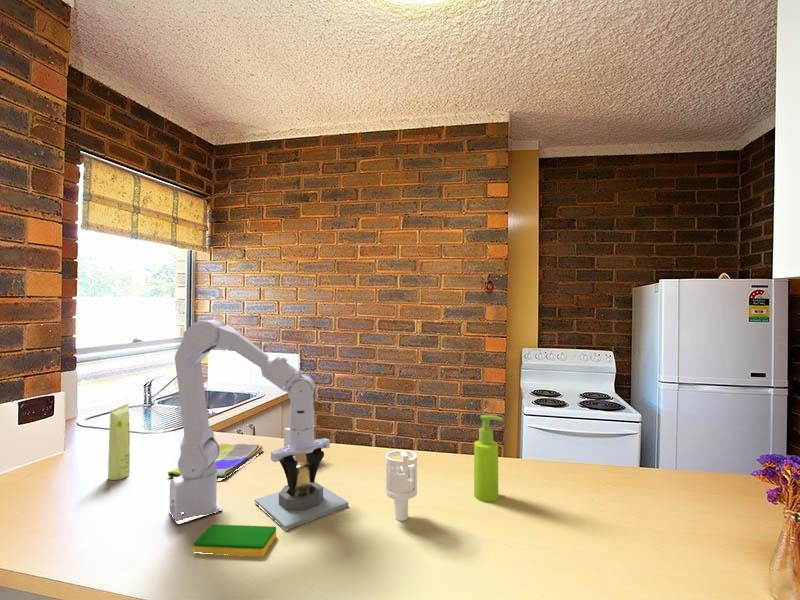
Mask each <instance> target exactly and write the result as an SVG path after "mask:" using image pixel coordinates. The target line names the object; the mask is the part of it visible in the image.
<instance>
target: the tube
mask: <svg viewBox="0 0 800 600" xmlns="http://www.w3.org/2000/svg"><path fill="white" fill-rule="evenodd" d="M129 408H130V406H129V403H128V402H127V403H126V404H123V405H121V406H118V407H116V408H113V409H111V410H110V415H109V438H108V462H107V464H108V466H107V467H108V468H107V469H108V470H107V479H108V480H111V481H118V480H121V479H125V478H126V477H127V478H128V476H130V471H131V470H130V466H131V462H130V461H131V459H130V457H131V455H130V453H131V452H130V451H131V450H130V449H131V448H130V446H131V445H130V443H131V441H130V438H131V435H130V434H131V433H130V409H129Z"/></svg>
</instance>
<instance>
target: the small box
mask: <svg viewBox="0 0 800 600" xmlns="http://www.w3.org/2000/svg"><path fill="white" fill-rule="evenodd" d="M316 429H317V426H316V425H314V440H317V439H316V435H317V434H316V432H317V430H316ZM283 432H284V433H283V447H285V446H287V445H289V427H285V428H284V429H283ZM293 458H294V460H295V461H297V462H307V458H306V453H303V454H300V455H296V456H293Z"/></svg>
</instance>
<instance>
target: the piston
mask: <svg viewBox="0 0 800 600" xmlns="http://www.w3.org/2000/svg"><path fill="white" fill-rule="evenodd" d="M307 495H310V463H308V462H298V463H297V467H296V474H295V489H291V496H295V497H304V496H307Z"/></svg>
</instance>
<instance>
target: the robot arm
mask: <svg viewBox="0 0 800 600" xmlns="http://www.w3.org/2000/svg"><path fill="white" fill-rule="evenodd" d="M182 335H183V336H182V337H183V338H182V340H181V342H180V344H179V345H178V349H177V351H176V353H175V355H174V363H175V371H176V379H177V385H178V387H177V388H178V394H179V403H180V410H181V418H182V424H183V425H182V427H183V433H184V434H183V437H182V440H181V443H180V456H179V458H178V461H177V468H178V469H179V471H180V473H181V474H182V475H180V476H179V477H177V478H171V480H170V482H169V510H170V512H171V514H172V515H173V517H174V519H175V520H176V521H179V520H183V519H185V518H189V517H193V516H199V515H207V514H211V513H214V512H217V511H220V510H222V509H223V507H221V505H220V504H219V503H218V501H217V483H218V482H217V467H216V464H215V459H216V458H217V457H218V455H219V452H220V447H219V444H220V443H219V442H218V441H217V439H216V438H215V434H214V431H213V429H212V428H211V427H210V422H209V415H208V406H207V400H206V392H205V391H206V389H205V382H204V376H203V374H204V373H203V368H202V361H203V360H204V358H206V356H207V355H208V354H209V353H210V352H211V350H213V349H215V348H216V349H222V350H223V349H225V350H232V351H234V352H235V353H237V354H238V355H240V356H242V357H243V358H244V359H246V360H248V361H249V362H251V363H252V364H254V365H256V366H257V367H259V369H260V370H261V376H262V377H264V379H266V380H267V381H269V382H270V383H271V384H273V385H274V386H276V387H277V388H279V390H282V391H283V392H287V396H288V399H289V400H290V402H289V403H290V406H289V407H290V408H289V427H288V428H289V445H287V446H285V447H284V446H283V447H281V448H278V449H276V450H272V451H271V452H270V460H271V461H272V462H274V463H277V462H279V464H280V465H281V467H282V469H283V472H284V474H285V477H286V481H287V485H288V487H289V488H291V489H295V474H296V467H297V463H298V462H297V461H295V460H294V458H293V456H296V455H300V454H303V453H306V458H307V462H308V463H310V482H311V483H313V482H314V481H315V480H316V476H317V472H318V469H319V466H320V465H321V462H322V460H323V459H324V457H325V452H324V451H323V450H322V449H330V448H331V440H330V439H329V438H326V437H325V438H318V439H316V440H314V426H315V406H314V403H315V401H314V394H315V390H316V389H315V388H316V386H315V380H313V378H312V377H311V376H310V375H309V374H307V373H304V371H303V370H302V369H299V370H298V369H296V368H295V367H294V366H292V365H291V364H290V363H288V359H287V358H286V357H284V356H283V357H282V358H281V357H280V356H278V355H276V356H270V355H268V354H267V353H265V352H264V351H263V350H262V349H261V348H259V347H258V346H257V345H256V344H254V343H253V342H251V341H250V340H249V339H248V338H247V337H245V336H244V335H243V334H241V333H240V332H239V331H238V330H236V329H235V328H233V327H232V326H230V325H227V324H226V323H225V322H223V321H222V320H221V319H209V320H199V321H195V322H193V323H192V324H191V325H190V326H189V327H188V328H187V329H185V330H184V331H183V334H182ZM315 482H316V481H315ZM222 511H223V510H222ZM181 512H184V514H182V515H181ZM174 519H173V520H174Z"/></svg>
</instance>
